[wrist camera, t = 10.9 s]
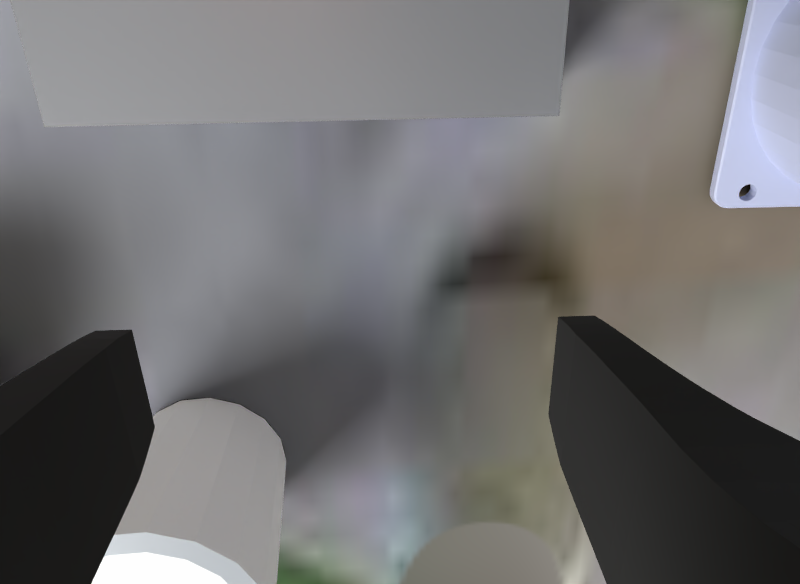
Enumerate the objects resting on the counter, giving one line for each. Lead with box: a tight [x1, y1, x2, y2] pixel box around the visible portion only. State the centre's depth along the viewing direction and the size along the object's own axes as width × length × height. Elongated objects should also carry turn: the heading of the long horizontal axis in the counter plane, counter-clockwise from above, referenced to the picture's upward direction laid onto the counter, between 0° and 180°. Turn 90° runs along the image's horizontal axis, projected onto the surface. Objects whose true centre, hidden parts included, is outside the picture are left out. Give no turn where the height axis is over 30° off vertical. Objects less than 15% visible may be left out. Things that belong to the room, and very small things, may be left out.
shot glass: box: [91, 398, 286, 584], centre depth 23 cm, size 7×7×7 cm
